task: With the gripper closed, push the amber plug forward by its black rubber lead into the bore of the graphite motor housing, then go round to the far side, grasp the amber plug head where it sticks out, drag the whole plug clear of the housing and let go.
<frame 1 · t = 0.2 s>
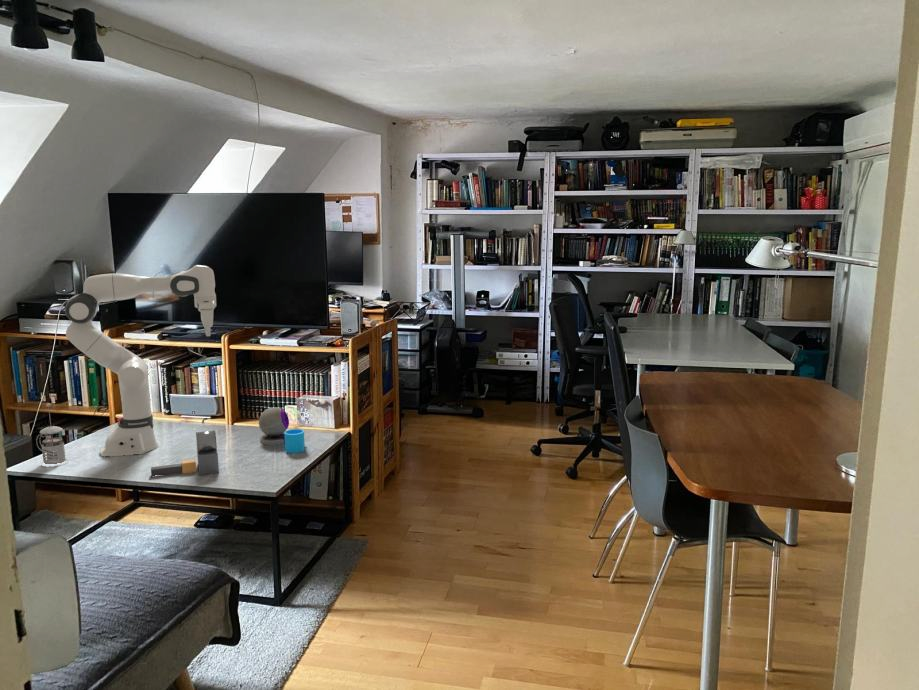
hand: (207, 334, 299), 48 cm above the table, fingers open, 8 cm apart
mug: (297, 449, 295), on the table
french press: (53, 463, 279), on the table
plug: (174, 473, 267), on the table
motor housing: (208, 468, 272), on the table
webcam: (274, 440, 307), on the table
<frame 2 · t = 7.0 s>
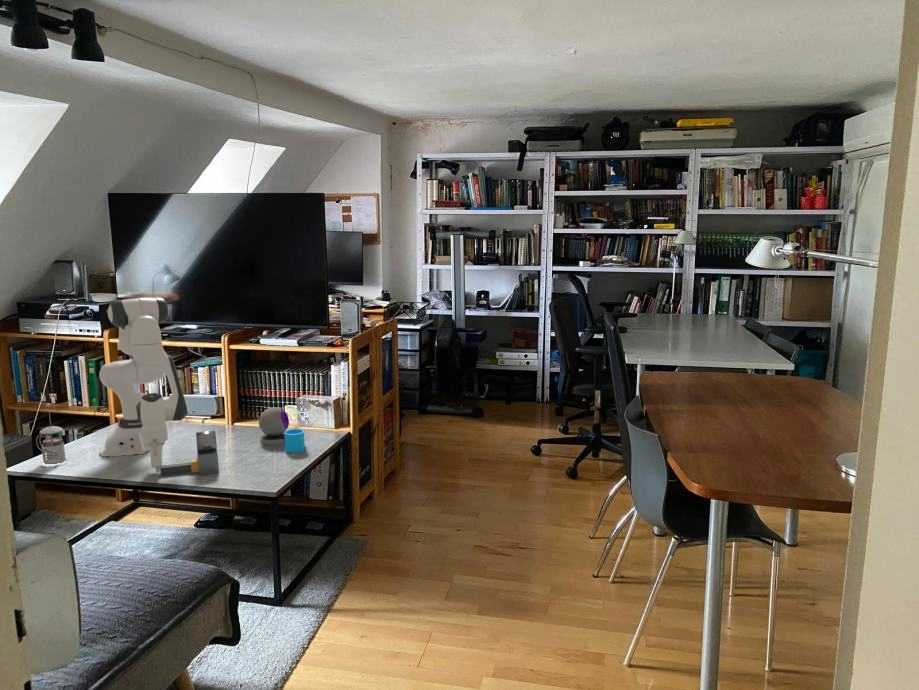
hand: (158, 470, 264), 2 cm above the table, fingers closed, pressing on plug
plug: (183, 471, 268), on the table, touching gripper
everything else where it was.
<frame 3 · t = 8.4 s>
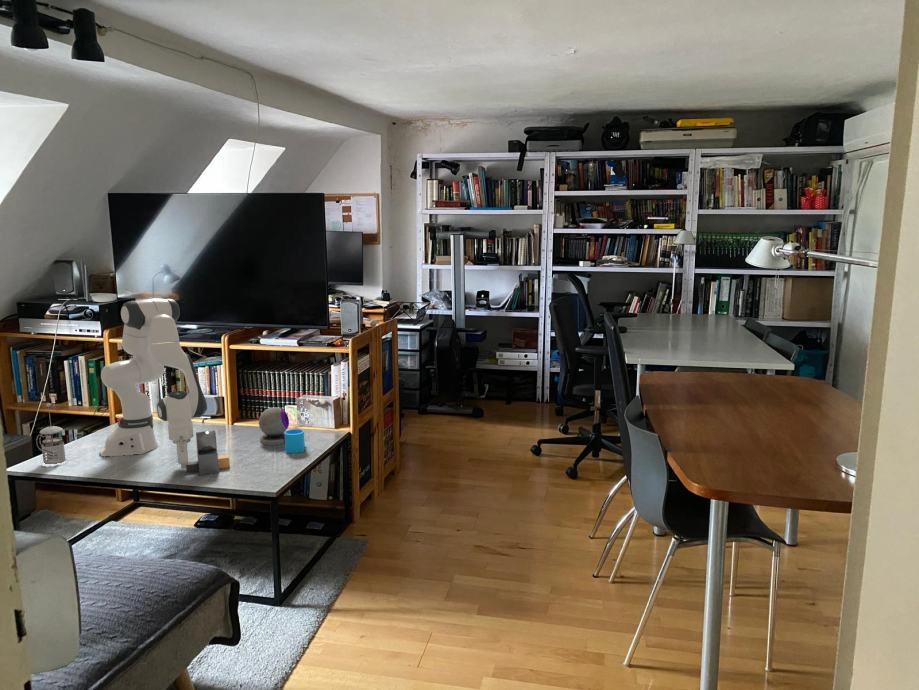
hand: (183, 467, 268), 2 cm above the table, fingers closed
plug: (208, 468, 272), on the table
everything else where it was.
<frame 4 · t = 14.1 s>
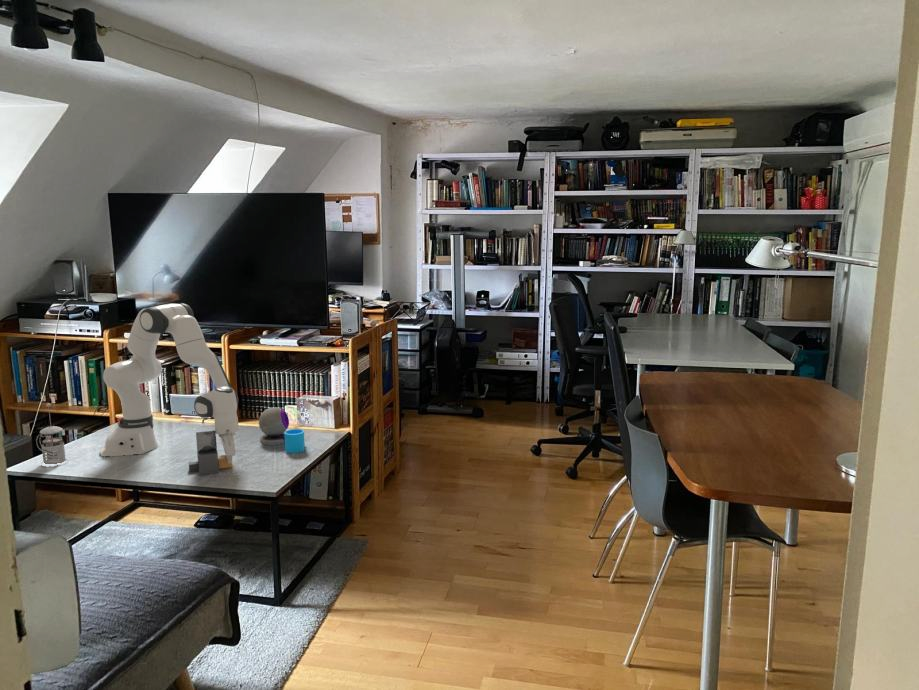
hand: (229, 460, 274), 2 cm above the table, fingers closed on plug, 4 cm apart
plug: (210, 468, 272), on the table, touching gripper
everything else where it was.
when the fingers open (2 cm above the table, at t = 18.2 s): plug stays where it is, on the table.
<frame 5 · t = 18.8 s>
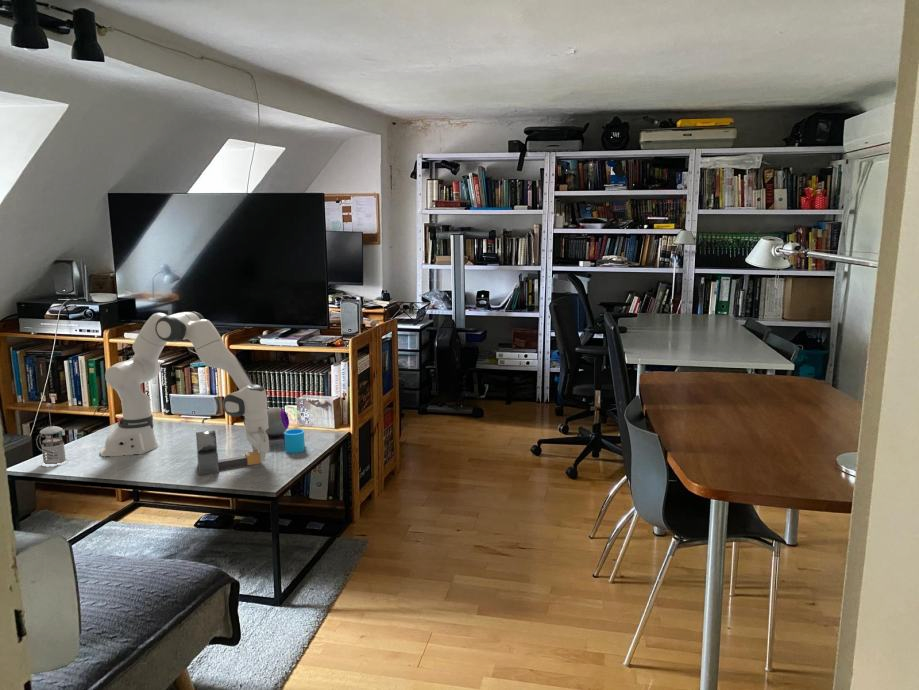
hand: (258, 457, 279), 2 cm above the table, fingers open, 8 cm apart
plug: (239, 465, 275), on the table
everything else where it was.
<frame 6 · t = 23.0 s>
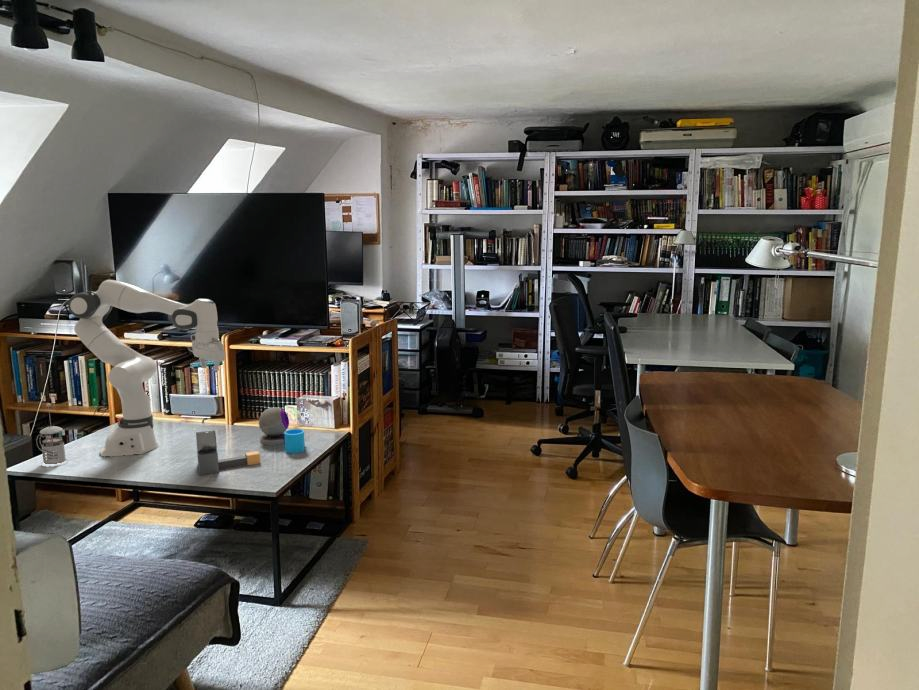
hand: (210, 369, 293), 34 cm above the table, fingers open, 8 cm apart
nothing on the table moved.
at the end: plug inside the target area on the table beside the motor housing (6.2 cm from its centre), on the table; the gripper is holding nothing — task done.
